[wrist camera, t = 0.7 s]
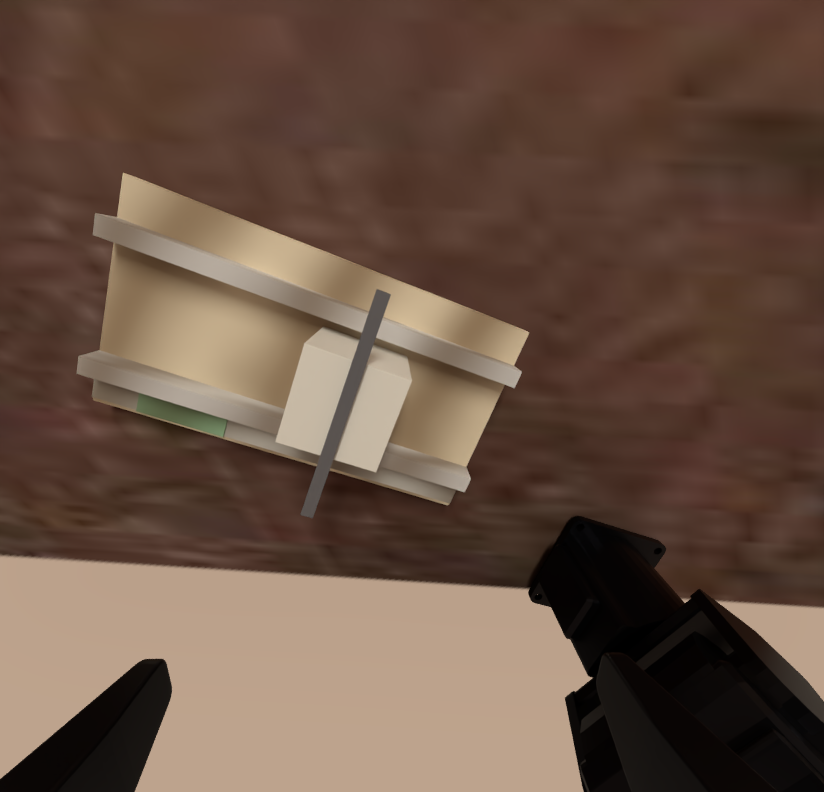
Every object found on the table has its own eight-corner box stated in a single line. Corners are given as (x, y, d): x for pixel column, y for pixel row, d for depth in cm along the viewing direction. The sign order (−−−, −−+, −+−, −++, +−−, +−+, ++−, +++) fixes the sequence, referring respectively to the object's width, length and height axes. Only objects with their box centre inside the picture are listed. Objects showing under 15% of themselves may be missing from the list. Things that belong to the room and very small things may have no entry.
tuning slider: (427, 302, 17) (439, 313, 13) (362, 474, 19) (354, 529, 15) (341, 268, 16) (324, 269, 12) (285, 451, 19) (256, 502, 15)
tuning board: (520, 328, 19) (539, 336, 17) (444, 493, 22) (451, 519, 19) (142, 179, 16) (100, 164, 14) (110, 391, 19) (72, 409, 16)
